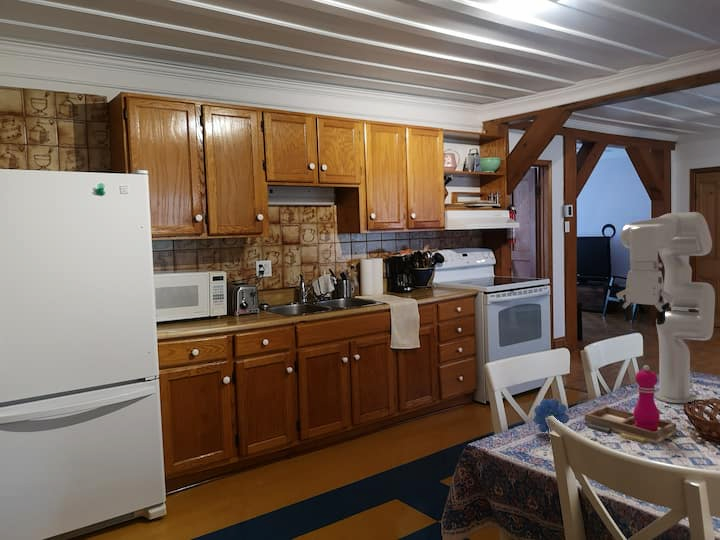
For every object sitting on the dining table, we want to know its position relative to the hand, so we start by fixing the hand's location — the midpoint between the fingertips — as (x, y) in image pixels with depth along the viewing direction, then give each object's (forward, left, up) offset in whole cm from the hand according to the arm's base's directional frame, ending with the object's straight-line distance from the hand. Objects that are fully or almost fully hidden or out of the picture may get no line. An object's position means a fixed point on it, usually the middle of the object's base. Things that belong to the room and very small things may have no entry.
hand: (644, 322), depth 174 cm
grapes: (+23, -17, -34) cm, 45 cm away
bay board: (+3, -4, -34) cm, 34 cm away
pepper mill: (+2, +1, -33) cm, 33 cm away
